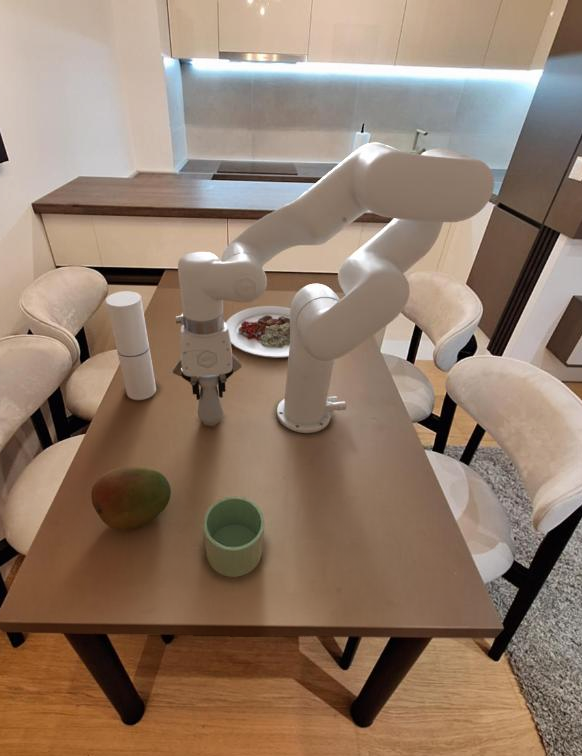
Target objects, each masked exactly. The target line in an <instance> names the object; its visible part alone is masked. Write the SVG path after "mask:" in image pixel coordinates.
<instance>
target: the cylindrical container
mask: <svg viewBox="0 0 582 756" xmlns="http://www.w3.org/2000/svg"><path fill="white" fill-rule="evenodd" d="M105 303H106V308H107V312H108V316H109V322H110V325H111V330H112V335H113V339H114V343H115V348H116V352H117V353H116V354H117V358H118V361H119V366H120V370H121V374H122V379H123V383H124V388H125V393H126V396H127V397H128V398H129V399H131V400H135V401H142V400H146V399H147V400H148V399H150V398H151V397H153V396H154V395H155V393H156V391H157V386H156V380H155V374H154V373H155V372H154V368H153V362H152V356H151V350H150V344H149V338H148V331H147V325H146V319H145V312H144V307H143V299H142V296H141V294H140V293H138V292H136V291H132V290H131V291H130V290H123V291H117V292H113V293H111V294H110V295H108V296H107V297H106V298H105Z"/></svg>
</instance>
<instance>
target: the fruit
mask: <svg viewBox="0 0 582 756" xmlns="http://www.w3.org/2000/svg"><path fill="white" fill-rule="evenodd" d="M170 485H171V484H170V483H169V481H168V479H167V478H166V476H165V475H164V474H163V473H161V472H159V471H156V470H153V469H149V468H143V467H139V466H122V467H117V468H114V469H111V470H110V471H108V472H106V473H104V474H102V476H100V477H99V478H98V479H97V480H96V481H95V483H94V484H93V486H92V488H91V493H90V497H91V504H92V506H93V509H94V511H95V512H96V514H97V516H98V517H99V518H100V519H101V521H102V522H103V523H104V524H105V525H106V526H107V527H109V528H111V529H114V530H120V531H127V530H132V529H136V528H140V527H143V526H145V525H147V524H149V523H150V522H152V521H153V520H155V519H156V518H157V517H158V516H159V515H160V514H161V513H162V512H163V511H164V510H165V509H166V507H167V506H168V504H169V502H170V499H171V494H172V490H171V486H170Z"/></svg>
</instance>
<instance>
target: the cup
mask: <svg viewBox="0 0 582 756" xmlns="http://www.w3.org/2000/svg"><path fill="white" fill-rule="evenodd" d="M202 524H203V533H204V534H203V535H204V546H205V554H206V559H207V561H208V563H209V565H210V566H211V568H212V569H213V570H214V571H215V572H217V573H219V574H220V575H222V576H226V577H229V578H230V577H231V578H235V577H242V576H246V575H247V574H249V573H250V572H252V571H253V570H254V569H255V568H256V567H257V566H258V564H259V563H260V561H261V559H262V556H263V547H264V538H265V537H264V536H265V518H264V513H263V512H262V510H261V509H260V507H259V506H258V504H256V503H255V502H254V501H252V500H251V499H249V498H246V497H243V496H242V497H241V496H227V497H224V498H221V499H219V500H216V501H215V502H214V503H213V504H211V505H210V507H209V508H208V509H207V511H206V513H205V515H204V518H203V523H202Z"/></svg>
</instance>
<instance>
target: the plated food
mask: <svg viewBox="0 0 582 756" xmlns="http://www.w3.org/2000/svg"><path fill="white" fill-rule="evenodd" d="M290 308H291V307H286V306H279V305H278V306H276V305H261V306H254V307H249V308H246V309H243V310H240V311H238V312H236V313H234V314H233V315H231V316H230V317H229V318H228V319H227V321H225V323H226V324H227V326H228V330H229V334H230V339H231V345H232V346H233V347H235V348H237V349H239V350H240V351H242V352H245V353H248V354H251V355H254V356H258V357H262V358H263V357H264V358H275V359H276V358H289V346H290Z"/></svg>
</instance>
